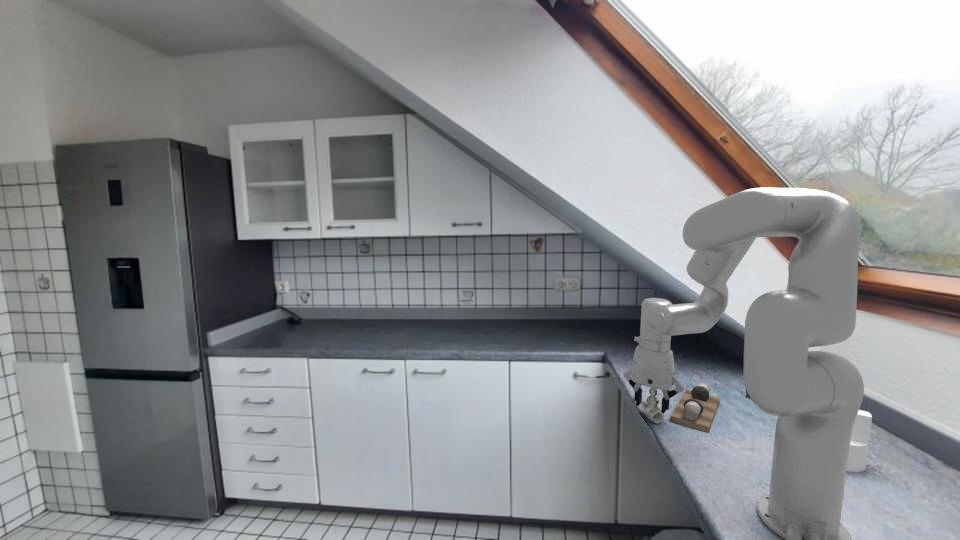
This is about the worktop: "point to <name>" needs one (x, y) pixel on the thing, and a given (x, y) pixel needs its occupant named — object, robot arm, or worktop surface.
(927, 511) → the worktop surface
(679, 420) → the pipe board
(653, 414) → the valve
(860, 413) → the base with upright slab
